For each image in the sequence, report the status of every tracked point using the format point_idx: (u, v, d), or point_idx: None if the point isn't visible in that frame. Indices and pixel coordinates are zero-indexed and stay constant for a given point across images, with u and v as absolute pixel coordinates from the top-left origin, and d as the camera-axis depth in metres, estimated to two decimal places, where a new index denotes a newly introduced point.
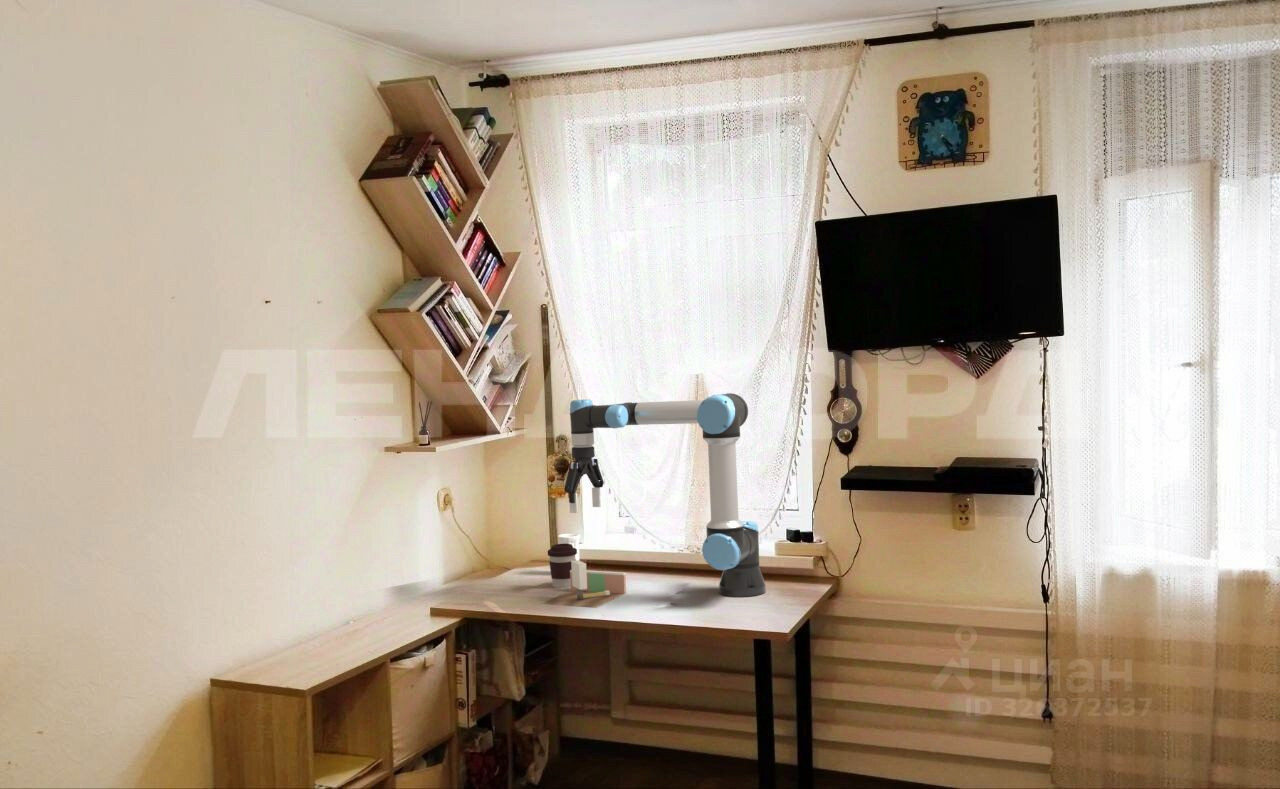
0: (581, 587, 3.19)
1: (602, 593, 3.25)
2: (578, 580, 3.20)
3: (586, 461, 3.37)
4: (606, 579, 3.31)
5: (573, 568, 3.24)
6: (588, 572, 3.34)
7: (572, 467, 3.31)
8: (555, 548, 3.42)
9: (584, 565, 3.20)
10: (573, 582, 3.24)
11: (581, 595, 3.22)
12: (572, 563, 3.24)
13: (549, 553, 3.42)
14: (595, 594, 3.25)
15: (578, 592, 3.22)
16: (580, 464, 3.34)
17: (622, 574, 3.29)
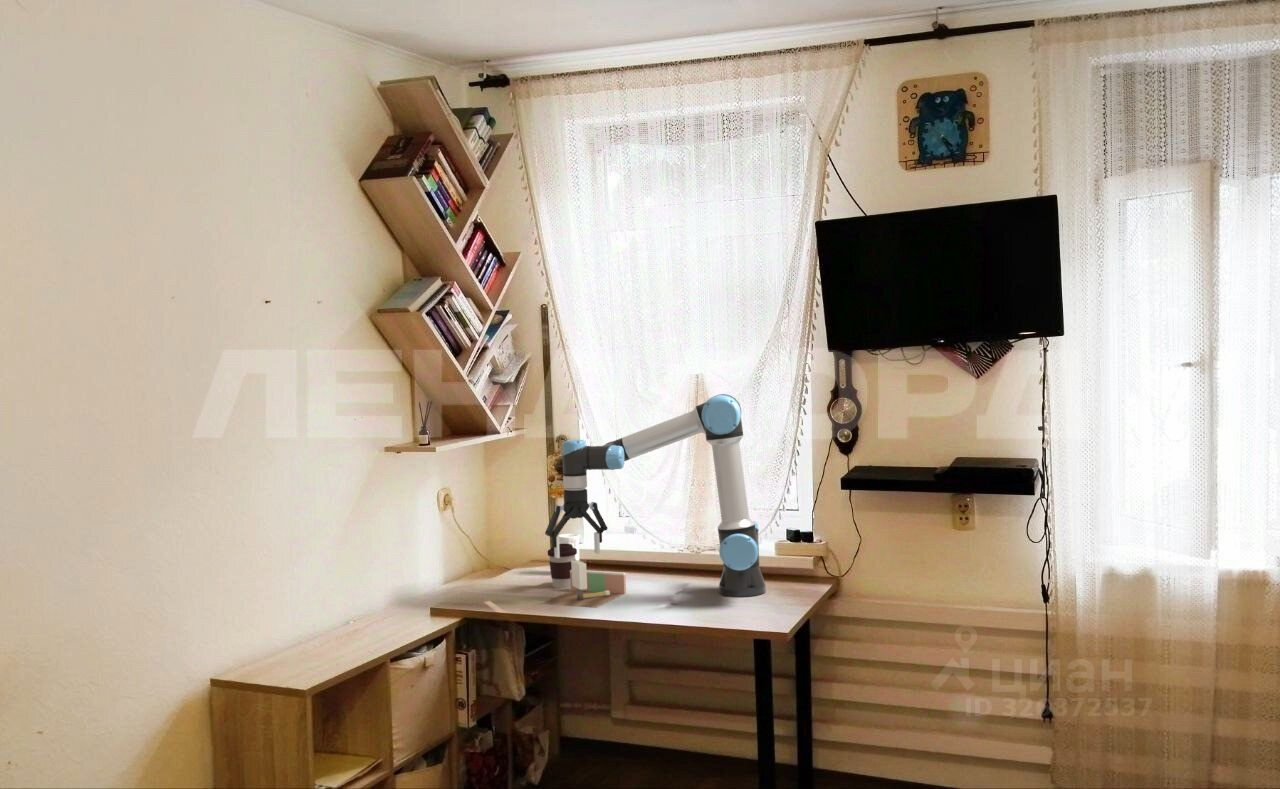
0: (581, 587, 3.19)
1: (602, 593, 3.25)
2: (578, 580, 3.20)
3: (577, 505, 3.21)
4: (606, 579, 3.31)
5: (573, 568, 3.24)
6: (588, 572, 3.34)
7: (555, 510, 3.19)
8: None
9: (584, 565, 3.20)
10: (573, 582, 3.24)
11: (581, 595, 3.22)
12: (572, 563, 3.24)
13: (549, 553, 3.42)
14: (595, 594, 3.25)
15: (578, 592, 3.22)
16: (566, 508, 3.20)
17: (622, 574, 3.29)
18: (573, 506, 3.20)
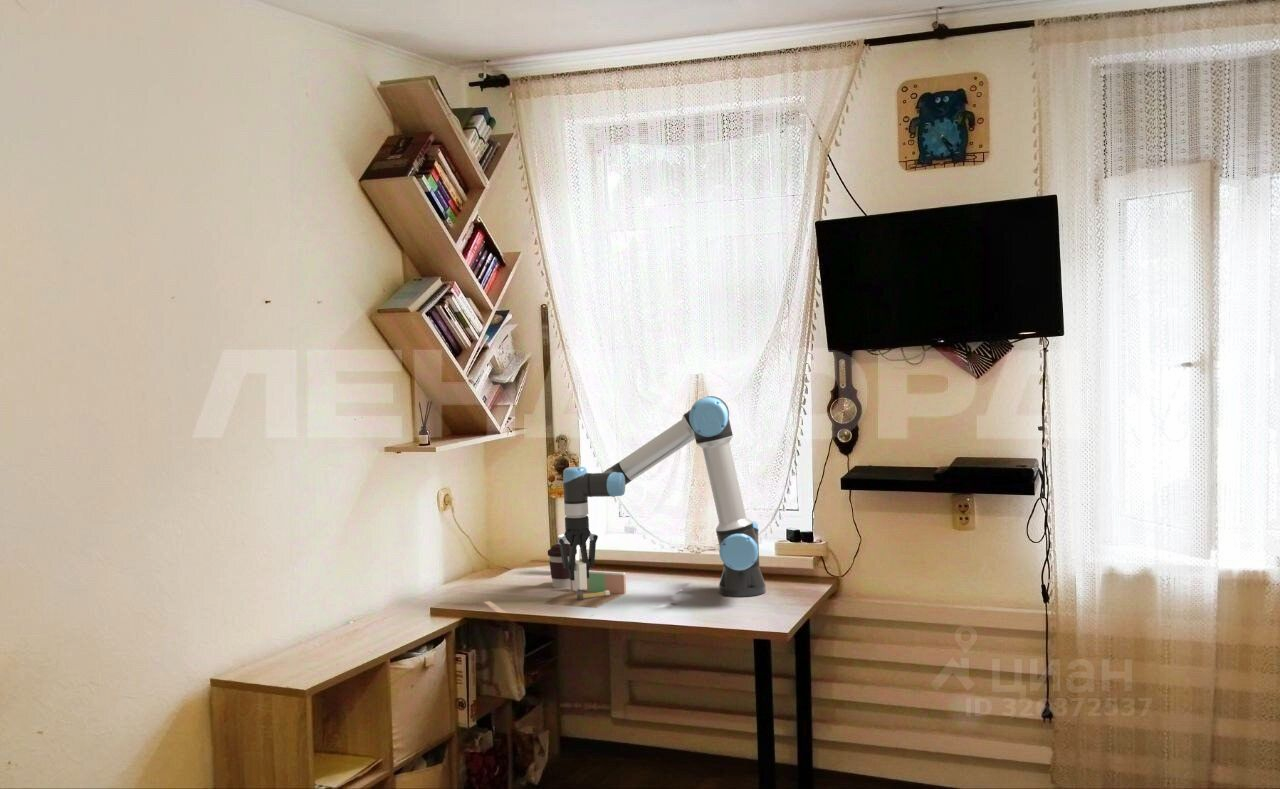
0: (581, 587, 3.19)
1: (602, 593, 3.25)
2: (578, 580, 3.20)
3: (578, 532, 3.21)
4: (606, 579, 3.31)
5: None
6: None
7: (560, 544, 3.20)
8: (555, 548, 3.42)
9: (584, 565, 3.20)
10: None
11: (581, 595, 3.22)
12: None
13: (549, 553, 3.42)
14: (595, 594, 3.25)
15: (578, 592, 3.22)
16: (568, 536, 3.20)
17: (622, 574, 3.29)
18: (573, 534, 3.21)
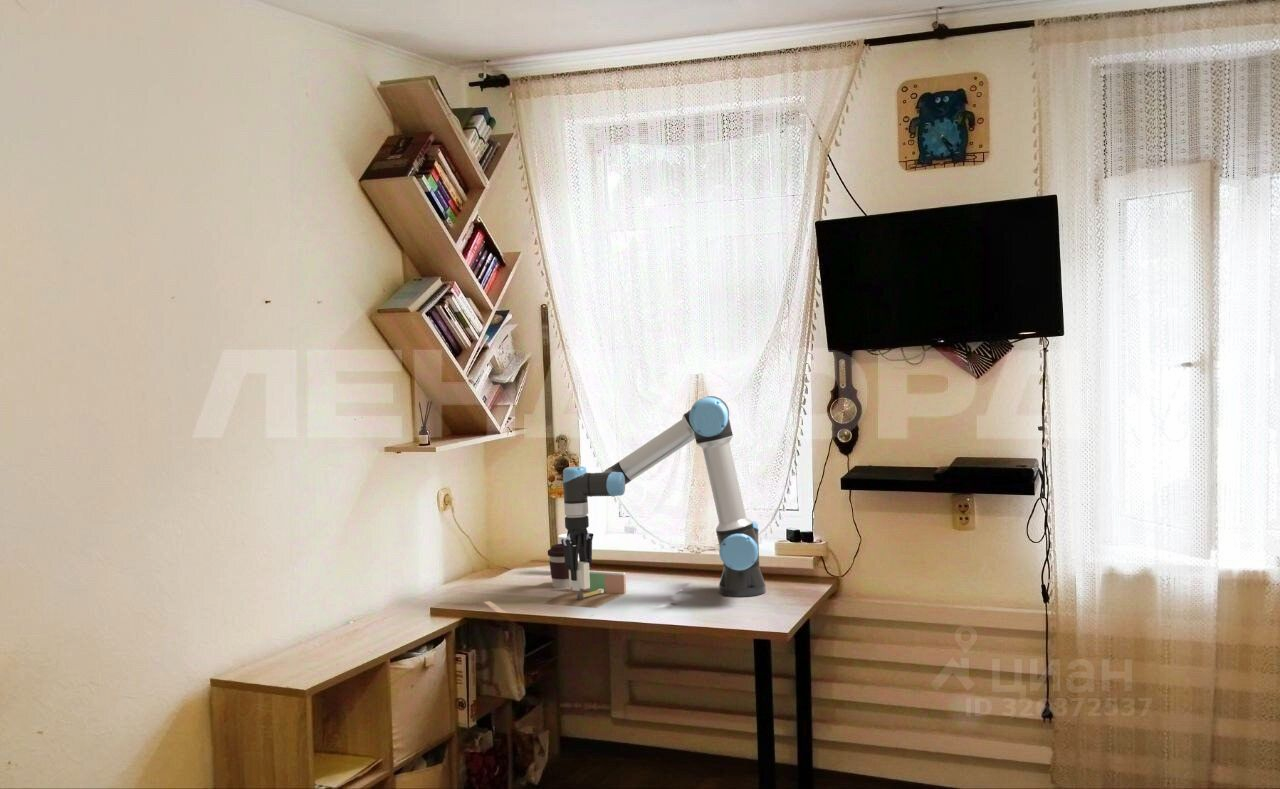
0: (585, 586, 3.20)
1: (597, 591, 3.28)
2: (581, 580, 3.20)
3: (580, 531, 3.22)
4: (606, 579, 3.31)
5: None
6: None
7: (565, 544, 3.17)
8: (555, 548, 3.42)
9: (587, 564, 3.21)
10: (571, 583, 3.23)
11: (582, 595, 3.22)
12: None
13: (549, 553, 3.42)
14: (592, 593, 3.26)
15: (579, 592, 3.22)
16: (573, 536, 3.19)
17: (622, 574, 3.29)
18: (576, 534, 3.20)
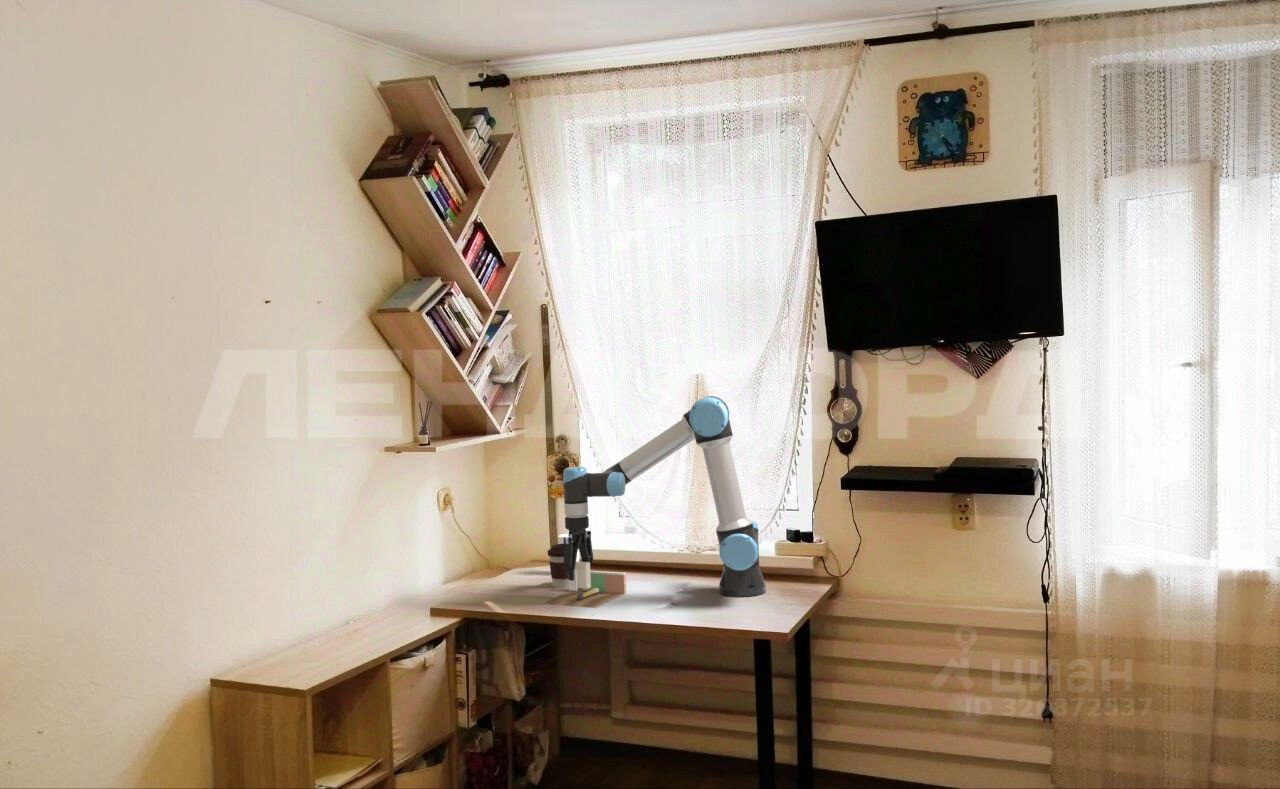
0: (587, 586, 3.20)
1: (594, 591, 3.29)
2: (583, 579, 3.20)
3: (580, 532, 3.22)
4: (606, 579, 3.31)
5: None
6: None
7: (567, 543, 3.16)
8: (555, 548, 3.42)
9: (589, 564, 3.21)
10: None
11: (582, 595, 3.22)
12: None
13: (549, 553, 3.42)
14: (590, 592, 3.27)
15: (580, 592, 3.22)
16: (574, 536, 3.19)
17: (622, 574, 3.29)
18: (578, 533, 3.20)
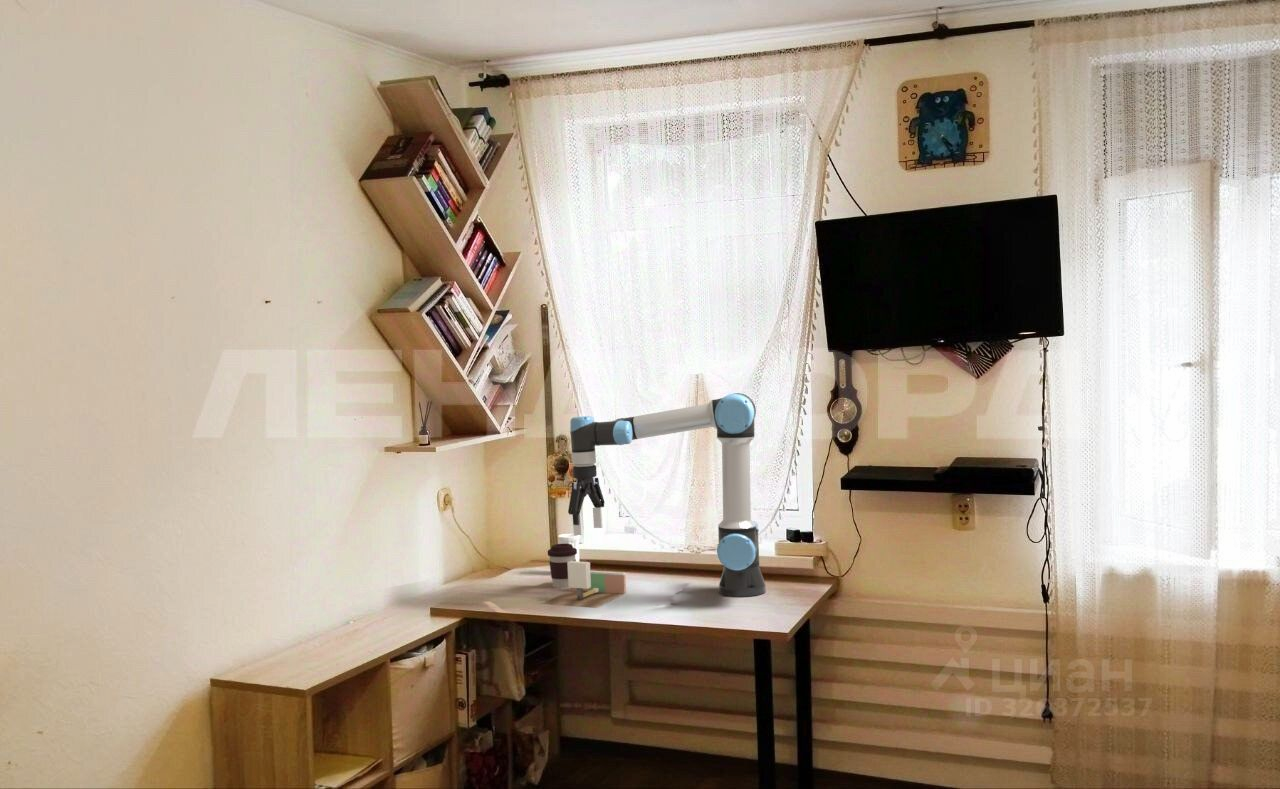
0: (587, 586, 3.20)
1: (594, 591, 3.29)
2: (583, 579, 3.20)
3: (588, 480, 3.23)
4: (606, 579, 3.31)
5: (572, 569, 3.22)
6: None
7: (575, 487, 3.17)
8: (555, 548, 3.42)
9: (589, 564, 3.21)
10: (571, 583, 3.23)
11: (582, 595, 3.22)
12: (570, 564, 3.23)
13: (549, 553, 3.42)
14: (590, 592, 3.27)
15: (580, 592, 3.22)
16: (583, 484, 3.20)
17: (622, 574, 3.29)
18: (586, 482, 3.22)
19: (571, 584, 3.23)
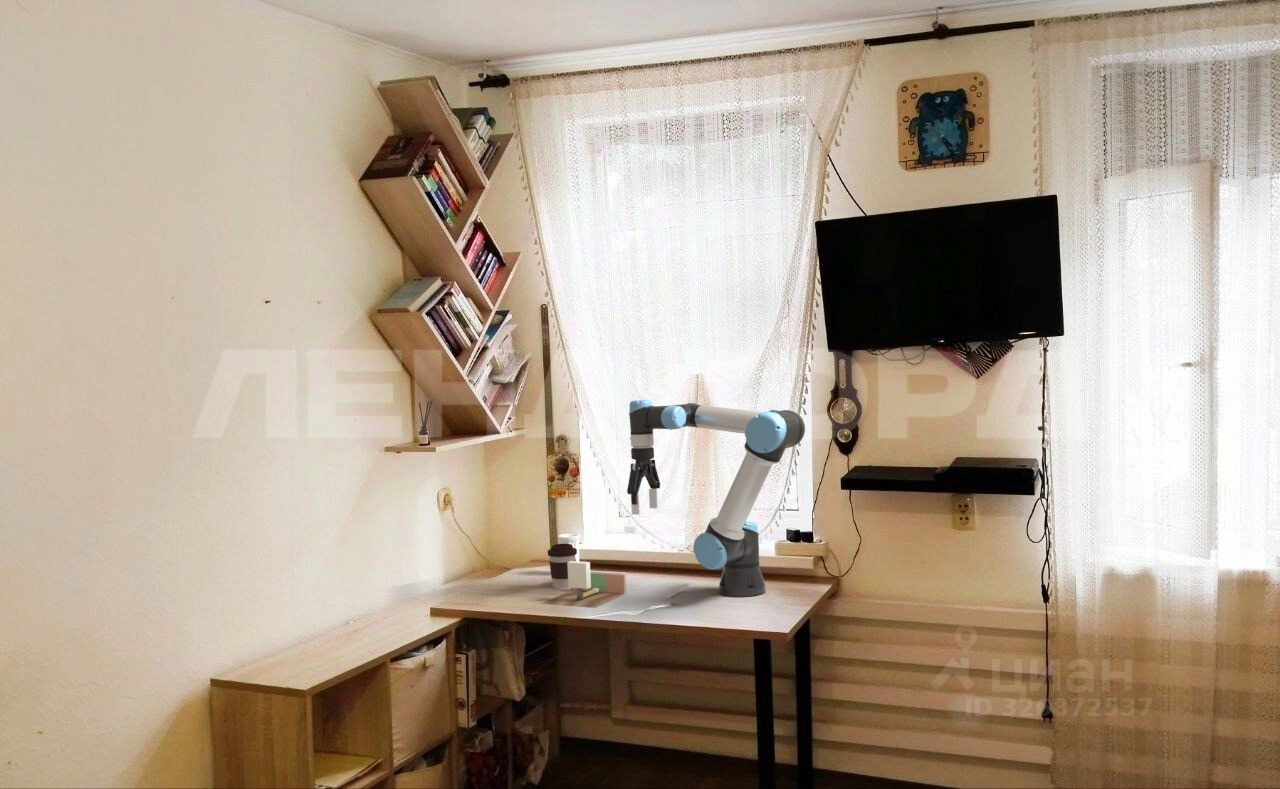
0: (587, 586, 3.20)
1: (594, 591, 3.29)
2: (583, 579, 3.20)
3: (646, 462, 3.34)
4: (606, 579, 3.31)
5: (572, 569, 3.22)
6: None
7: (634, 468, 3.28)
8: (555, 548, 3.42)
9: (589, 564, 3.21)
10: (571, 583, 3.23)
11: (582, 595, 3.22)
12: (570, 564, 3.23)
13: (549, 553, 3.42)
14: (590, 592, 3.27)
15: (580, 592, 3.22)
16: (641, 465, 3.31)
17: (622, 574, 3.29)
18: (644, 463, 3.33)
19: (571, 584, 3.23)
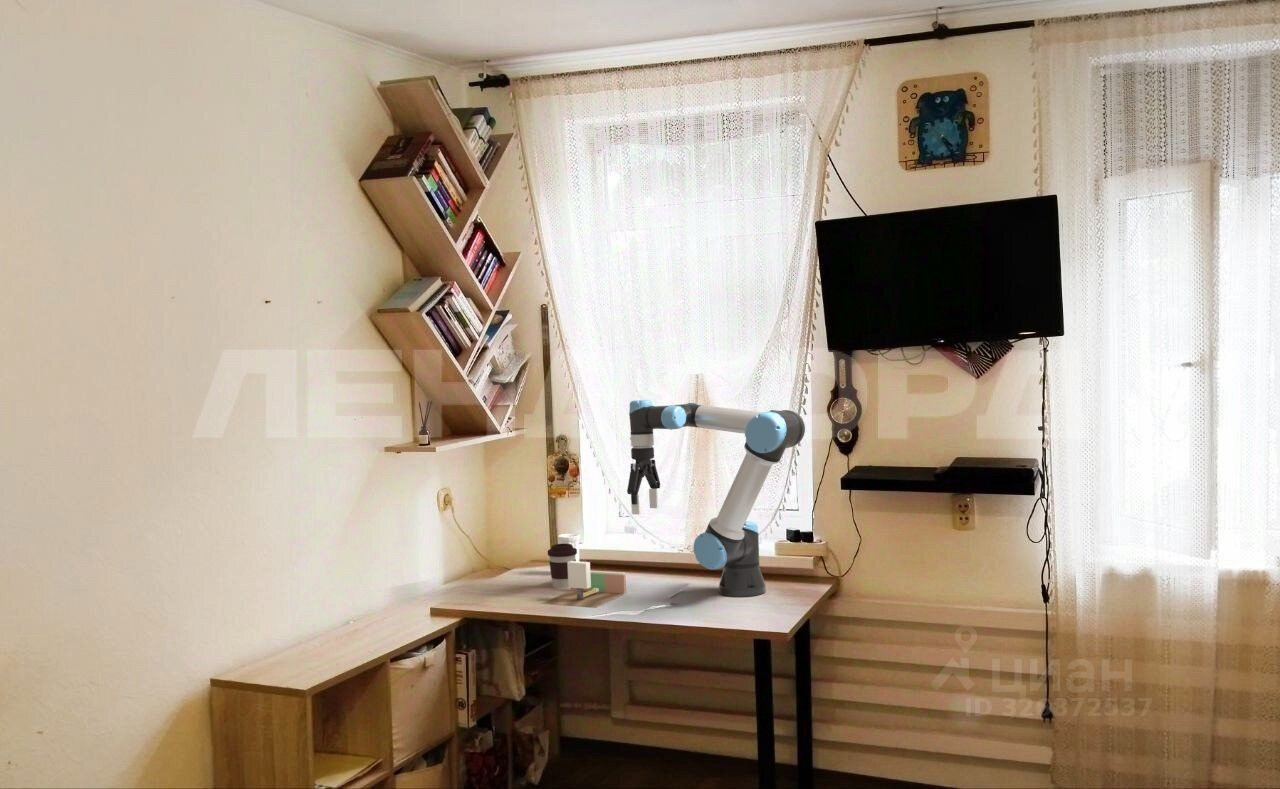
0: (587, 586, 3.20)
1: (594, 591, 3.29)
2: (583, 579, 3.20)
3: (646, 462, 3.34)
4: (606, 579, 3.31)
5: (572, 569, 3.22)
6: None
7: (634, 468, 3.28)
8: (555, 548, 3.42)
9: (589, 564, 3.21)
10: (571, 583, 3.23)
11: (582, 595, 3.22)
12: (570, 564, 3.23)
13: (549, 553, 3.42)
14: (590, 592, 3.27)
15: (580, 592, 3.22)
16: (641, 465, 3.31)
17: (622, 574, 3.29)
18: (644, 463, 3.33)
19: (571, 584, 3.23)
